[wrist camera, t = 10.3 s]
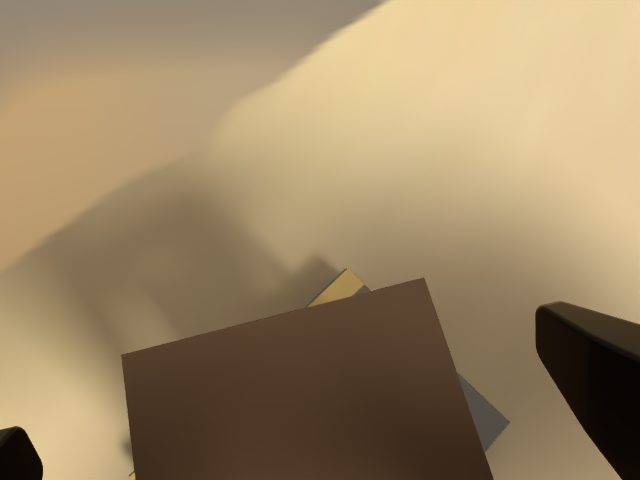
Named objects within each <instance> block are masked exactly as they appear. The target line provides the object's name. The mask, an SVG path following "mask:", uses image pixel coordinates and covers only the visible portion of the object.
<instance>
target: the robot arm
mask: <svg viewBox="0 0 640 480" xmlns="http://www.w3.org/2000/svg"><path fill="white" fill-rule="evenodd" d="M535 320H536V349H537V353H538V355H539V358H540V359H541V361H542V363H543V364H544V366H545V368H546V369H547V371H548V372H549V374H550V376H551V377H552V379H553V381H554V382H555V384H556V385H557V387H558V389H559V390H560V392H561V393H562V395H563V397H564V398H565V400H566V402H567V403H568V405H569V406H570V408H571V410H572V411H573V413H574V415H575V416H576V418H577V419H578V421H579V422H580V424H581V425H582V427H583V429H584V430H585V432H586V433H587V434H588V436H589V437H590V438H591V440H592V441H593V442H594V444H595V445H596V446H597V448H598V449H599V450H600V452H601V453H602V454H603V455H604V457H605V458H606V459H607V461H608V462H609V463H610V465H611V466H612V467H613V468H614V470H615V471H616V472H617V474H618V475H619V476H620V478H621V479H622V480H640V324H636V323H633V322H630V321H626V320H623V319H619V318H616V317H613V316H609V315H606V314H603V313H599V312H596V311H592V310H589V309H586V308H582V307H579V306H575V305H572V304H569V303H565V302H561V301H558V302H554V303H549V304H545V305H541V306H539V307H538V308H537V310H536V315H535ZM42 477H43V466H42V462H41V459H40V457H39V455H38V454H37V452H36V450H35V448H34V446H33V444H32V442H31V441H30V439H29V437H28V435H27V433H26V432H25V430H24V429H23V428H21V427H18V426H15V427H10V428H6V429H1V430H0V480H42Z"/></svg>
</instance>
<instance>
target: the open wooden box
mask: <svg viewBox="0 0 640 480" xmlns="http://www.w3.org/2000/svg"><path fill="white" fill-rule="evenodd" d="M121 356H122V365H123V374H124V382H125V391H126V400H127V409H128V418H129V427H130V435H131V444H132V453H133V462H134V471H135V480H494V479H493V476H492V473H491V471H490V468H489V465H488V462H487V459H486V456H485V453H484V450H483V447H482V444H481V441H480V439H479V436H478V433H477V430H476V427H475V424H474V421H473V418H472V415H471V412H470V410H469V407H468V404H467V401H466V398H465V395H464V392H463V389H462V386H461V383H460V380H459V378H458V375H457V372H456V369H455V366H454V363H453V360H452V357H451V354H450V351H449V348H448V346H447V343H446V340H445V337H444V334H443V331H442V328H441V325H440V322H439V319H438V317H437V314H436V311H435V308H434V305H433V302H432V299H431V296H430V293H429V290H428V287H427V285H426V282H425V279H424V278H420V279H416V280H413V281H409V282H405V283H401V284H397V285H393V286H389V287H385V288H381V289H377V290H374V291H370V292H366V293H362V294H358V295H354V296H350V297H346V298H342V299H338V300H334V301H331V302H327V303H323V304H319V305H315V306H311V307H307V308H303V309H299V310H295V311H292V312H288V313H284V314H280V315H276V316H272V317H268V318H264V319H260V320H256V321H252V322H249V323H245V324H241V325H237V326H233V327H229V328H225V329H221V330H217V331H213V332H210V333H206V334H202V335H198V336H194V337H190V338H186V339H182V340H178V341H174V342H170V343H167V344H163V345H159V346H155V347H151V348H147V349H143V350H139V351H135V352H131V353H127V354H124V355H121Z"/></svg>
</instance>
